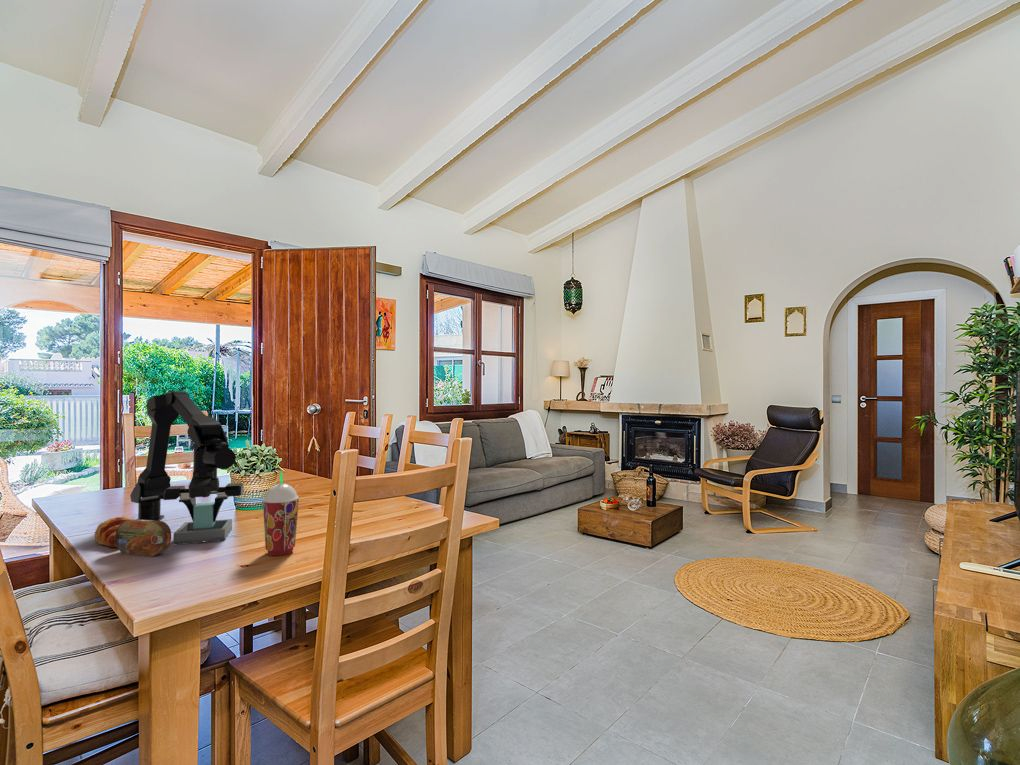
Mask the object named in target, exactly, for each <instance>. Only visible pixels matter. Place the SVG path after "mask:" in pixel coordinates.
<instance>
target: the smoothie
mask: <svg viewBox="0 0 1020 765" xmlns="http://www.w3.org/2000/svg"><path fill="white" fill-rule="evenodd" d="M283 475H284V473H283V472H280V473H279V483H277V484H275V485H272V486H271V487H270V488H269V489H268V490H267V491H266V493H265V495H264V497H263V498H262V505H263V526H264V542H265V543H264V546H265V550H266V551H267V554H268V555H269V556H272V555H273V557H274V555H275V557H278V556H277V555H281V556H286V555H288V554H291V553H292V552H293V550H294V548H295V547H296V540H297V539H296V538H297V537H296V536H297V526H298V525H297V524H298V513H299V499H300V497H299V495H298V493H297V491H296V490H295V488H294V487H293V486H291V485H290V484H287V483H283V482H284V480H283V479H284V478H283V477H284V476H283ZM285 554H286V555H285Z"/></svg>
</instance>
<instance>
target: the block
mask: <svg viewBox="0 0 1020 765" xmlns="http://www.w3.org/2000/svg"><path fill="white" fill-rule="evenodd" d="M214 506H215V501H214V502H213V501H212V502H211V501H210V502H200V503H199V502H196V505H195V506H194V518H193V520H192V522H193V529H196V528H210V527H213V526H214V524H215V522H213V513H214Z"/></svg>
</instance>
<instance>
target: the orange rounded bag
mask: <svg viewBox="0 0 1020 765" xmlns="http://www.w3.org/2000/svg"><path fill="white" fill-rule="evenodd" d="M115 542H116V546H117V547H116V548H117V550H119V552H120V553H122V554H123V553H124V555H127V554H133V555H132V556H139V555H143V556H142V557H155V556H157V555H160V554H163V553H165V552H166V551H167V550H168V549H169V548H170V546H171V542H172V530H171V528H170V526H169V525H168V524H167V523H166V521H164V520H163V521H162V520H159V521H154V520H139V519H138V518H136V519H135V520H127V521H124V522H122V523H121V524H120V525H119V526H118V528H117V530H116V534H115Z"/></svg>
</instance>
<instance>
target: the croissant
mask: <svg viewBox="0 0 1020 765" xmlns="http://www.w3.org/2000/svg"><path fill="white" fill-rule="evenodd" d="M127 520H135V519H134V518H131V517H126V516H118V517H113V518H112V517H111V518H109V519H107V520H105V521H103V522H100V523H99V524H98V525H97V527H96V530H95V532H94V540H95V541H96V542H97V544H99V545H101V544H102V545H101V546H103V545H104V546H107V547H112V548H117V546H116V542H115V534H116V530H117V528H118V526H119V525H120V524H121V523H122V522H124V521H127Z"/></svg>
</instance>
